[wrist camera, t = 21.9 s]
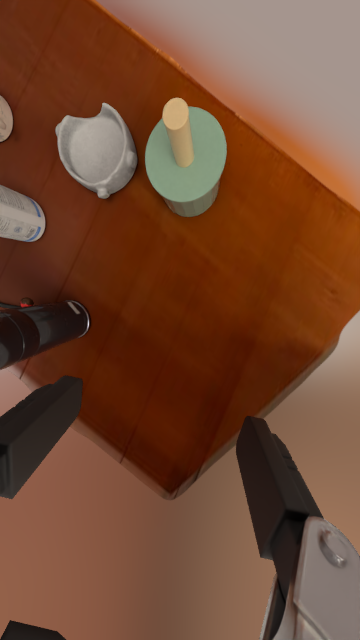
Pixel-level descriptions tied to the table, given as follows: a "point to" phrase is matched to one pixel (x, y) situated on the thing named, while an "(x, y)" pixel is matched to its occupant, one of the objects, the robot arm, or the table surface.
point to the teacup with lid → (5, 119)
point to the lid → (185, 153)
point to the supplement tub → (20, 216)
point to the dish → (98, 151)
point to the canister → (194, 204)
